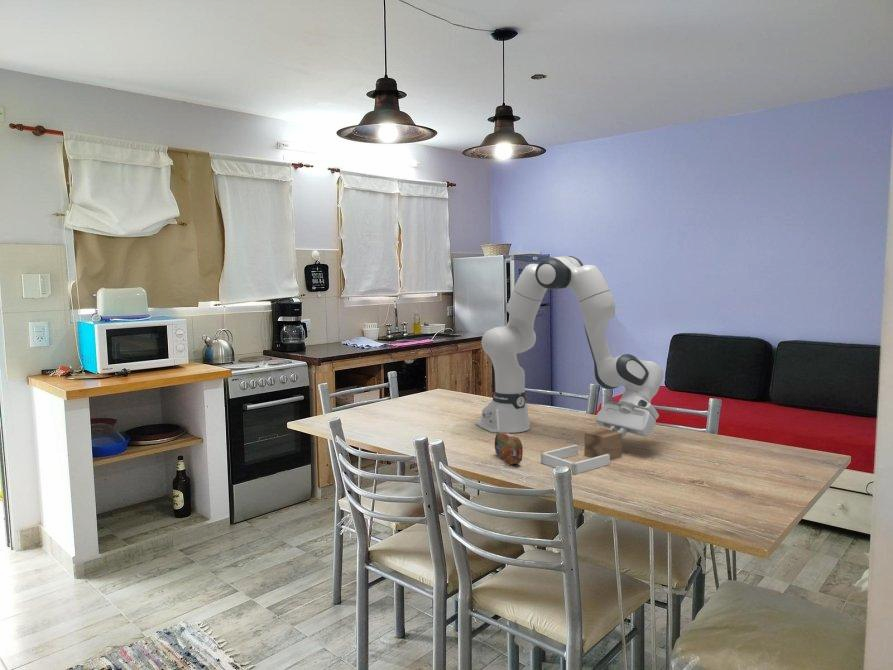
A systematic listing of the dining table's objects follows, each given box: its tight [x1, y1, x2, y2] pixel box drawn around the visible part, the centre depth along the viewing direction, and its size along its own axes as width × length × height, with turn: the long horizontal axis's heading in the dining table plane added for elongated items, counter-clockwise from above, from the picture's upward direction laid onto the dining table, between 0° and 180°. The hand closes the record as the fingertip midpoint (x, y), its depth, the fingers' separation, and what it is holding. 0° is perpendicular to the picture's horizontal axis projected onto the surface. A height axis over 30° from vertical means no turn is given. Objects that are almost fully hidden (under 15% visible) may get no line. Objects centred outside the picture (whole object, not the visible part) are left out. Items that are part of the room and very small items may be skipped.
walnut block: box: [584, 427, 623, 461], centre depth 188 cm, size 8×8×8 cm
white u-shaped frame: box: [540, 444, 611, 475], centre depth 182 cm, size 14×15×3 cm
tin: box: [494, 432, 524, 465], centre depth 186 cm, size 15×3×8 cm, turn 21°
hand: (612, 440), depth 191 cm, fingers closed, pressing on walnut block
